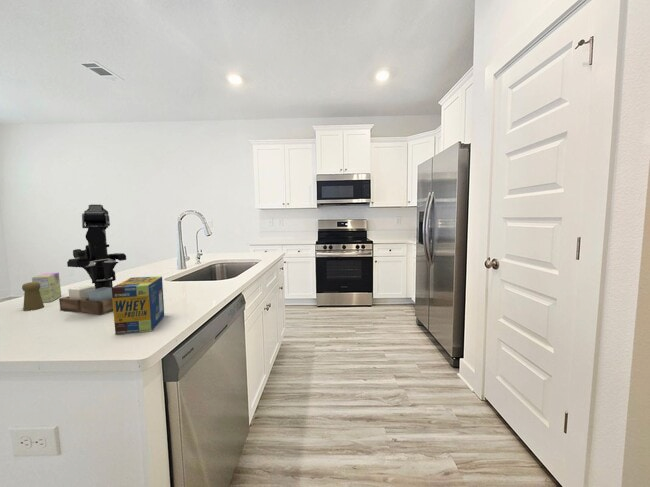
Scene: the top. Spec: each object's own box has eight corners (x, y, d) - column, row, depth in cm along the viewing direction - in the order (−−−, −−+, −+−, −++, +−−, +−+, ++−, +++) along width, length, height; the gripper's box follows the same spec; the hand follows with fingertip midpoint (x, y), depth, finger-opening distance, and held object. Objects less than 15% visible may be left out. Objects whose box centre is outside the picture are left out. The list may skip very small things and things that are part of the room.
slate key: (104, 296, 115) (103, 287, 115) (115, 297, 113) (114, 288, 113) (89, 300, 109) (88, 290, 109) (100, 301, 108) (99, 291, 107)
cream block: (85, 294, 118) (84, 285, 118) (95, 295, 116) (95, 286, 116) (69, 298, 112) (68, 289, 112) (79, 299, 111) (79, 290, 110)
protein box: (114, 335, 87) (110, 287, 86) (134, 318, 102) (130, 277, 101) (151, 331, 90) (148, 285, 89) (165, 315, 105) (162, 275, 103)
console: (87, 303, 121) (86, 291, 121) (125, 307, 115) (124, 295, 115) (60, 310, 111) (59, 298, 111) (100, 315, 106) (99, 302, 105)
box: (45, 297, 130) (43, 273, 129) (61, 296, 132) (59, 272, 131) (34, 304, 120) (31, 277, 119) (51, 302, 123) (48, 276, 122)
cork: (30, 311, 111) (27, 284, 110) (19, 310, 112) (15, 284, 111) (48, 306, 117) (45, 281, 116) (37, 305, 118) (34, 280, 117)
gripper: (106, 240, 120) (109, 275, 122) (54, 244, 102) (59, 285, 104) (125, 240, 117) (128, 276, 119) (76, 244, 99) (80, 287, 101)
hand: (100, 280), depth 111 cm, fingers open, 4 cm apart
